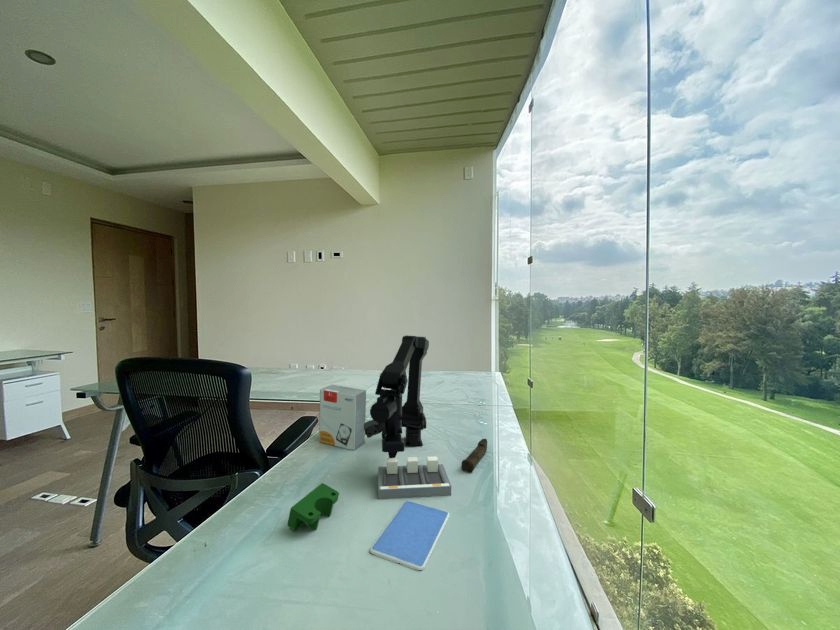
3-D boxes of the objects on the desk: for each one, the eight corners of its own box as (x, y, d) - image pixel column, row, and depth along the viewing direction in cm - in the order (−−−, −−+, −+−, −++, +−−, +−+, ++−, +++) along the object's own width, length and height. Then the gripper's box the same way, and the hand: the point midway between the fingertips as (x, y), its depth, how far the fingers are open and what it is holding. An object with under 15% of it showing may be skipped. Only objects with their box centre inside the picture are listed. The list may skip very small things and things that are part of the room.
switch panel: (378, 474, 101) (378, 464, 101) (442, 471, 104) (442, 462, 104) (378, 499, 89) (378, 487, 89) (451, 495, 92) (451, 484, 92)
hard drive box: (318, 442, 122) (318, 389, 120) (331, 434, 129) (331, 384, 127) (354, 451, 116) (355, 395, 114) (366, 442, 123) (366, 389, 122)
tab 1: (386, 469, 99) (386, 458, 99) (396, 469, 99) (397, 457, 99) (386, 474, 97) (387, 462, 96) (397, 473, 97) (397, 461, 97)
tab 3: (426, 467, 101) (426, 456, 100) (436, 467, 101) (436, 456, 101) (427, 472, 98) (428, 460, 98) (437, 471, 99) (438, 460, 98)
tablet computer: (405, 503, 89) (405, 498, 89) (450, 515, 84) (450, 511, 84) (368, 555, 71) (368, 549, 71) (423, 575, 66) (423, 569, 66)
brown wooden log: (472, 475, 103) (473, 460, 103) (460, 471, 105) (461, 456, 105) (493, 451, 119) (494, 438, 119) (482, 448, 121) (483, 436, 121)
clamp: (309, 549, 77) (305, 528, 72) (289, 535, 79) (285, 514, 74) (341, 504, 86) (340, 483, 82) (323, 493, 89) (321, 472, 84)
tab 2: (406, 468, 100) (407, 457, 100) (416, 468, 100) (417, 457, 100) (407, 473, 97) (407, 461, 97) (417, 472, 98) (417, 461, 98)
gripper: (366, 401, 109) (365, 447, 110) (364, 423, 90) (363, 479, 91) (400, 400, 110) (399, 446, 111) (405, 422, 92) (403, 477, 93)
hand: (391, 460), depth 102 cm, fingers closed
